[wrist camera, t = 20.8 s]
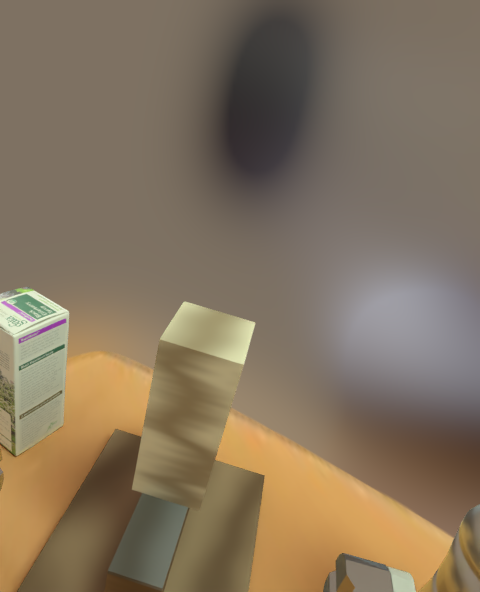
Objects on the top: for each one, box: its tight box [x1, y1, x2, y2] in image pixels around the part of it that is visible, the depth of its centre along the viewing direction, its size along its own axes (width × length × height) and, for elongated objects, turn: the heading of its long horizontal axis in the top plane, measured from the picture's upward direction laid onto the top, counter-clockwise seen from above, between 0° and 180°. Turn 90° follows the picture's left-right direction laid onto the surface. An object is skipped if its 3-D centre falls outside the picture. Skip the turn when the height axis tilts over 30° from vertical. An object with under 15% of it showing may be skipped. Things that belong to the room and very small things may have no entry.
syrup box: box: [0, 287, 69, 456], centre depth 40 cm, size 6×6×14 cm
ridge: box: [17, 429, 264, 592], centre depth 34 cm, size 16×18×9 cm
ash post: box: [132, 302, 255, 511], centre depth 29 cm, size 5×5×13 cm
